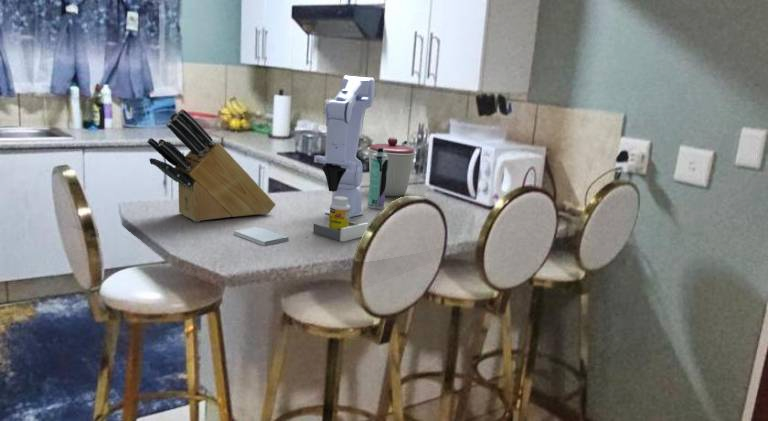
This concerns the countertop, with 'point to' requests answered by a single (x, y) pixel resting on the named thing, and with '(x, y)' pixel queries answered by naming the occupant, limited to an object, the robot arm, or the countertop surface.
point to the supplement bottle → (339, 213)
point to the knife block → (208, 175)
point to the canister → (395, 166)
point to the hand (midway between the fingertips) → (332, 191)
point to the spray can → (378, 179)
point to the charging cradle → (342, 231)
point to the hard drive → (260, 236)
